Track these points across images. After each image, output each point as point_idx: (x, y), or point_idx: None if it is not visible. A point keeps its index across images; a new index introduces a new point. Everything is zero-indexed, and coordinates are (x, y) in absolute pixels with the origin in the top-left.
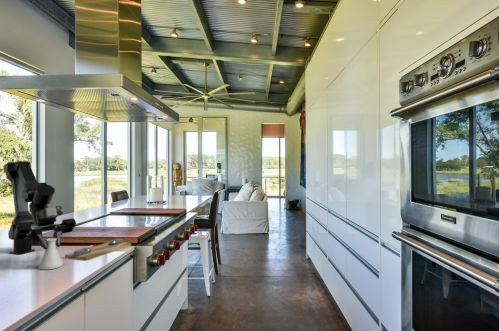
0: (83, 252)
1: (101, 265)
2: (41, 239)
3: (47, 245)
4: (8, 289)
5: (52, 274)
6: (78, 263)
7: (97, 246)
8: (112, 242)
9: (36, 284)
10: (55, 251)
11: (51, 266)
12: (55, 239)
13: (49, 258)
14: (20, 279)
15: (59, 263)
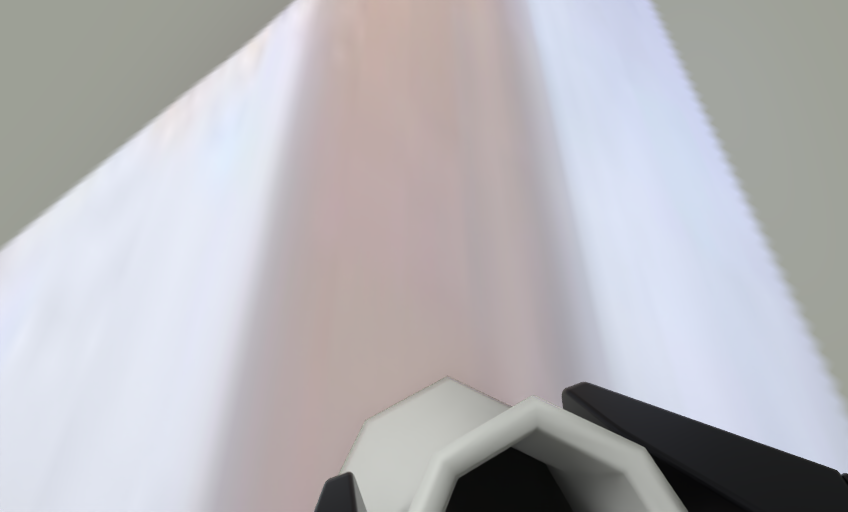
0: None
1: (4, 259)
2: (842, 480)
3: (584, 498)
4: (667, 77)
5: (434, 227)
6: (155, 493)
7: None
8: None
9: (522, 76)
10: (411, 462)
11: (449, 379)
12: (417, 494)
13: (485, 414)
14: (659, 233)
15: (365, 439)
